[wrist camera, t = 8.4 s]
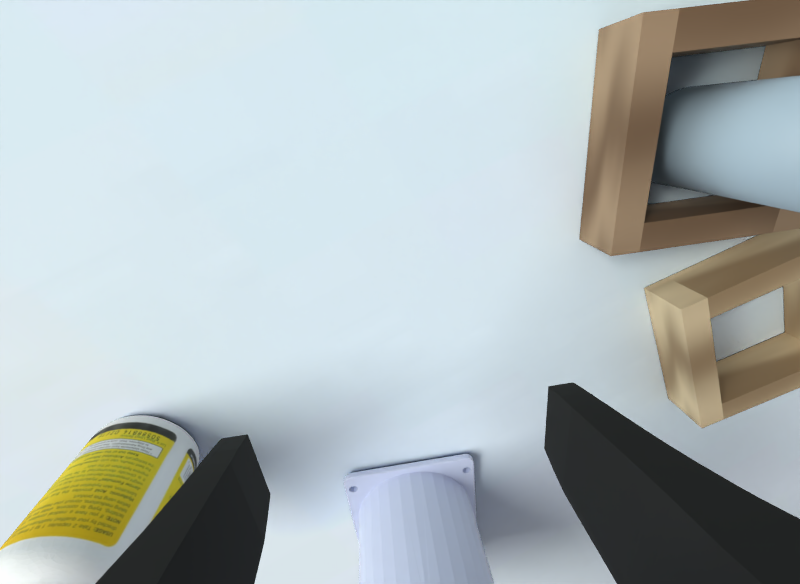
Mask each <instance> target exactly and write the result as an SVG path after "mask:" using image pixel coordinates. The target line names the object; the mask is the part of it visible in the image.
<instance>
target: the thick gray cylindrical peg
mask: <svg viewBox="0 0 800 584" xmlns="http://www.w3.org/2000/svg"><path fill="white" fill-rule="evenodd" d="M651 181H653V182H656V183H659V184H664V185H669V186H674V187H679V188H683V189H688V190H693V191H698V192H703V193H708V194H712V195H717V196H722V197H727V198H732V199H737V200H741V201H746V202H751V203H756V204H761V205H766V206H770V207H775V208H780V209H785V210H790V211H795V212H800V76H791V77H781V78H771V79H761V80H751V81H742V82H732V83H722V84H712V85H702V86H693V87H686V88H682V89H679V90H677V91H675V92H673V93H671V94H669V95H668V96H666V97H665V100H664V106H663V112H662V118H661V124H660V130H659V136H658V142H657V148H656V154H655V160H654V166H653V172H652V178H651Z"/></svg>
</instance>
